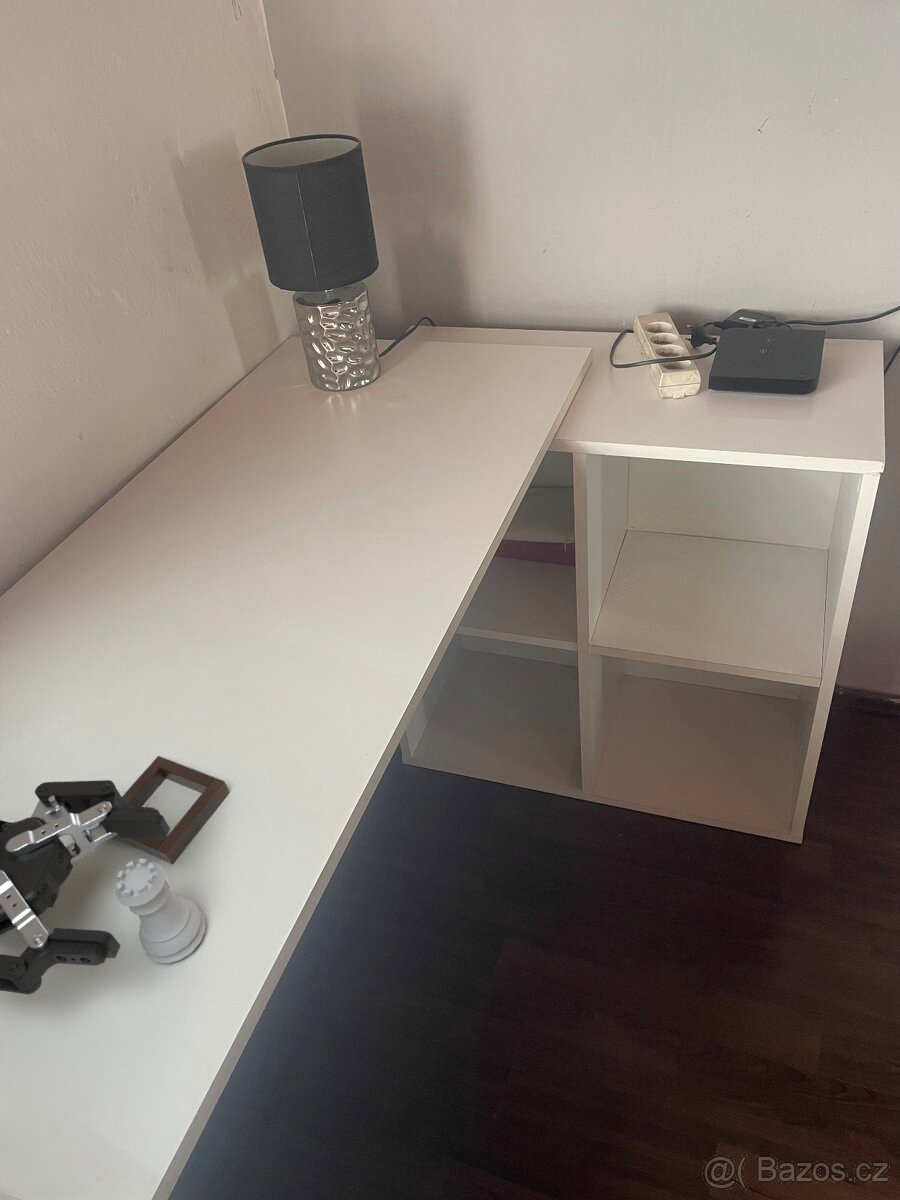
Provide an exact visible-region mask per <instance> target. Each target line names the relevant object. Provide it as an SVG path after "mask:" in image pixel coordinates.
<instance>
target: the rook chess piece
mask: <svg viewBox="0 0 900 1200" xmlns="http://www.w3.org/2000/svg"><path fill="white" fill-rule="evenodd" d="M125 867H127V869H126V870H125V871H123V870H119V872H118V874H117V875H116V879H117V880H118V882H117V883H115V885H116V887H115V888H116V889H115V896H116V898H117V900H118V902H119V903H120V904H122V905H123V906H125V907H128V909H129V910H130V912H132V913H133V914H134V915H137V916H138V918H139V920H140V925H139V935H138V938H139V941H140V944H141V947H142V949H143V950H144V952H145V954H146V956H147V957H148V958H149V959H151V960H152V961H153V962H155V963H160V964H171V963H174V962H179V961H181V960H183V959H184V958H186V957H188V956H189V955H190V954H192V953H193V952H194V950H195V949H196V948H197V947H198V946H199V944H200V943H201V942H202V939H203V936H204V934H205V931H206V918H205V916H204V913H203V911H202V910H201V909H200V908H199V907H198V906H197V904H196V903H194V902H193V901H191V900H190V899H188V898H186V897H181V896H177V895H175V894H174V893H173V892H171V890H170V884H169V882H168V881H167V880H166V872H165V870H164V867H163V865H160V864H159V863H157V862H155V861H149V860H148V859H146V858H139V860H138V863H135V862H134V860H131V861H129V862H128V863H126V864H125Z"/></svg>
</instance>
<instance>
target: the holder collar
mask: <svg viewBox="0 0 900 1200" xmlns="http://www.w3.org/2000/svg"><path fill="white" fill-rule="evenodd" d="M165 779H166V780H169V781H171V782H174V783H176V784H179V785H182V786H183V787H187V788H188V789H191V790H194V791H197V792H199V793H201V794H200V795H199V797H198V798H197V799H196V800H195V801H194V803H193V804H192V805H191V807H190V808H189V809H188V810H187V812H186V813H185V814H184V815H183V817H182V818H181V819H180V820H179V821H178V823H176V825H175V826H174V828H173V829H172V830H171V831H169V833H168V836H167V838H166V839H164V840H159V839H131V838H120V837H119V836H118V835H116V836H114V837H112V838H113V839H115V840H118V841H119V842H122V843H124V844H126V845H129V846H131V847H133V848H135V849H137V850H139V851H142V852H144V853H147V854H148V855H151V856H153V857H155V858H157V859H159V860H162V861H164V862H166V863H169V864H171V865H173V864H175V862H176V861H177V859H178V858H179V857H180V856H181V854H182V853H183V852H184V850H185V849H186V848H187V847H188V845H189V844H190V843H191V842H192V840H193V839H194V838H195V837H196V835H197V834H198V833H199V831H200V830H202V828H203V827H204V825H205V824H206V822H207V821H208V819H209V818H210V817H211V816H212V815H213V814H214V813H215V811H216V810H217V809H218V808H219V806H220V805H221V803H222V802H223V801H224V800H225V799H226V797H227V796H228V795H229V794H230V790H229V788H228V786H227V784H226V782H225V780H223V779H220V778H217V777H215V776H212V775H209V774H207V773H204V772H201V771H199V770H197V769H194V768H191V767H189V766H186V765H183V764H181V763H180V762H179V763H178V762H176V761H174V760H171V759H168V758H165V757H163V756H161V755H157V756H156V758H155V759H154V760H153V761H152V762H151V764H149V766H147V768H146V769H145V770H144V771H143V772H142V774H140V776H139V777H138V778H137V779H136V780H135V781H134V782H133V783H132V784H131V786H130V787H129V788H128V789H127V791H126V792H125V793H124V794H123V795H121V797H122V798H123V799H124V800H125V802H126V807H139V808H140V807H143V805H144V803H145V802H146V801H147V800H149V798H150V797H151V796H152V795H153V793H154V792H156V790H157V789H158V787H159V786H161V784H162V783H163V782H164V781H165ZM99 825H101V823H100V822H99V823H98V826H99Z"/></svg>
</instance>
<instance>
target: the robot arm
mask: <svg viewBox="0 0 900 1200" xmlns="http://www.w3.org/2000/svg"><path fill="white" fill-rule="evenodd" d="M34 794H35V795H36V797H37V798H38V802H37V804H36V806H35V808H34V810H33V812H32V814H31V815H30V817H26V818H24V819H20V820H18V821H13V822H10V821H5V820H1V819H0V936H2V935H4V934H6V933H8V932H10V931H12V930H14V929H17V931H18V932H19V934H20V935H21V937H22V938H23V939H24V941H25V942H26V943H27V945H28V946H27V947H26V949H24V950H23V952H22V953H21V954H20V955H19V956H17V955H9V954H2V953H0V992H1V991H3V992H8V993H9V992H10V993H16V994H22V995H32V994H34V993H36V992H37V991H38V990H39V989H40V987H41V986H42V983H43V979H42V977H43V976H44V974H46V973H47V971H48V970H49V969H50V968H51V967H55V966H57V965H58V964H59V965H60V964H62V965H74V966H75V965H77V966H79V965H81V966H93V967H96V966H99V965H103V964H104V963H105V961H106V959H115V958H117V955H118V953H119V951H120V948H121V944H120V942H118V940H117V939H116V938H115V937H114V935H113V934H112V933H111V932H109V931H106V930H97V929H81V928H62V927H54V928H53V930H50V928H49V926H48V925H47V924H46V922H45V921H44V919H43V918H42V917H41V915H43V914H44V913H45V912H46V911H47V910H48V909H49V908H51V909H52V908H53V907H54V906H55V904H56V902H57V900H58V897H59V894H60V889H61V886H62V885H63V883H64V882H65V881H66V880H67V879H68V877H69V876H70V874H71V872H72V869H73V867H74V865H73V864H74V863H75V862H77V861H79V860H81V859H83V858H86V857H87V856H89V855H91V854H92V853H93V852H94V851H95V848H96V846H98V845H100V844H103V842H106V841H108V840H110V839H112V838H113V837H114V836H116V835H118V836H119V837H120V838H131V839H159V840H164V839H166V838H167V836H168V835H169V834H170V832H171V831H170V830H171V827H170V825H169V824H168V822H167V820H166V819H165V817H164V815H163V814H161V813H160V811H159V810H158V809H157V808H155V807H153V806H152V807H151V806H150V807H148V806H147V807H146V806H145V807H144V806H141V807H140V808H139V807H126V802H125V800H124V799H123V798H122V795H121V793H120V792H119V790H118V789H117V786H116V784H115V783H114V781H112V780H109V779H105V780H103V779H102V780H73V781H71V780H70V781H45V782H42V783H40V784H39V785H37V786H36V788H35V790H34ZM99 822H100V823H101V825H99ZM97 824H98V825H97ZM95 825H97V826H95ZM93 826H95V827H93ZM91 827H93V828H91ZM90 828H91V829H90ZM63 836H70V837H71V839H72V840H73V841H74V842H72V843H71V844H68V845H67V846H66V845H65V844H64V843H63V840H61V839H60V838H61V837H63Z"/></svg>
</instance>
